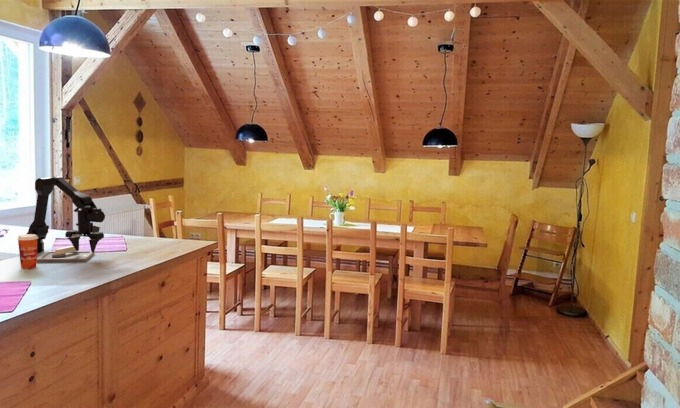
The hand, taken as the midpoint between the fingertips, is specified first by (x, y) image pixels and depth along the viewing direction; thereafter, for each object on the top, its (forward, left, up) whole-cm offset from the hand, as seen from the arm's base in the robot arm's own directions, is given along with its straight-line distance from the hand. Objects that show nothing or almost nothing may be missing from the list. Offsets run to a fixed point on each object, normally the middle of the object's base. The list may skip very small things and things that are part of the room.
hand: (85, 251), depth 254 cm
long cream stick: (-10, +2, -2) cm, 10 cm away
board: (-9, +1, -3) cm, 9 cm away
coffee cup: (-20, -17, -4) cm, 26 cm away
